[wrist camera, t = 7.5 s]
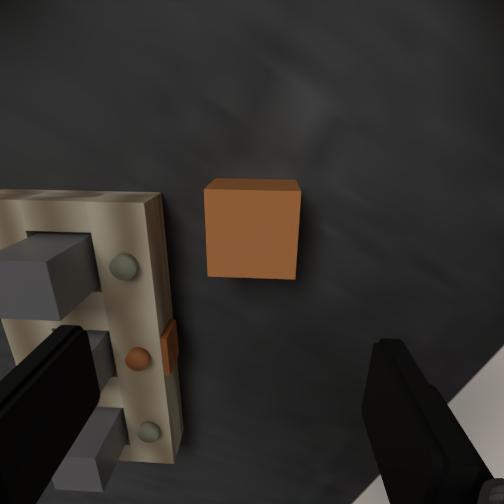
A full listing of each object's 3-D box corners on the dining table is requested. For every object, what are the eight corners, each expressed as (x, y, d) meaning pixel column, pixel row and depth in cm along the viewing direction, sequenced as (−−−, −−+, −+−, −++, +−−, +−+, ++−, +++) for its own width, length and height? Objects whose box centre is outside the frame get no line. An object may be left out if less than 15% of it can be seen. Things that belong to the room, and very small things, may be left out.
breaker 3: (123, 404, 32) (94, 458, 27) (128, 436, 33) (103, 492, 28) (80, 402, 32) (44, 455, 27) (88, 433, 33) (55, 489, 28)
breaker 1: (91, 234, 25) (45, 261, 20) (100, 283, 27) (60, 321, 22) (37, 232, 25) (-21, 259, 20) (50, 282, 27) (-2, 318, 22)
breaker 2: (119, 317, 30) (88, 355, 25) (125, 354, 32) (97, 397, 27) (74, 315, 30) (35, 353, 25) (83, 352, 32) (47, 395, 27)
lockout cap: (295, 179, 26) (301, 191, 21) (291, 254, 28) (295, 279, 24) (215, 178, 26) (203, 189, 21) (217, 252, 29) (207, 276, 24)
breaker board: (168, 192, 27) (147, 205, 22) (188, 430, 37) (177, 471, 33) (3, 188, 27) (-49, 200, 23) (68, 423, 38) (41, 462, 33)
